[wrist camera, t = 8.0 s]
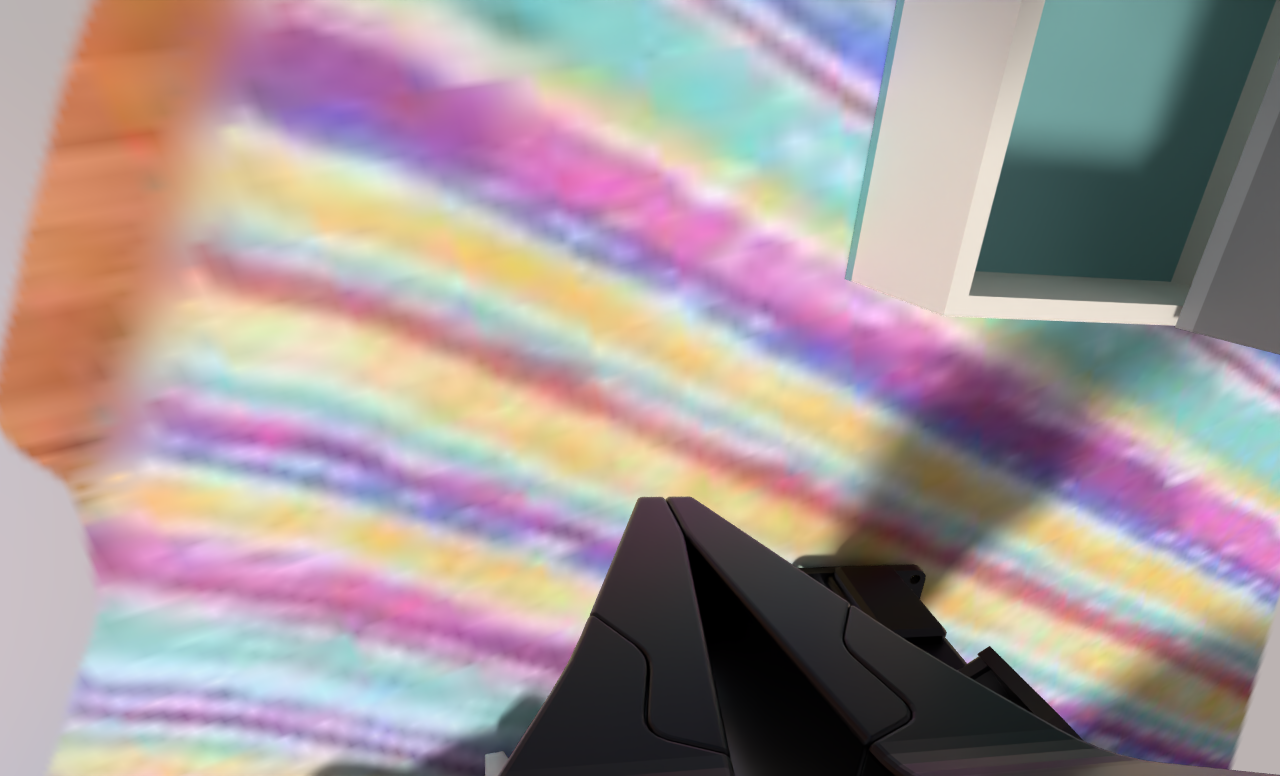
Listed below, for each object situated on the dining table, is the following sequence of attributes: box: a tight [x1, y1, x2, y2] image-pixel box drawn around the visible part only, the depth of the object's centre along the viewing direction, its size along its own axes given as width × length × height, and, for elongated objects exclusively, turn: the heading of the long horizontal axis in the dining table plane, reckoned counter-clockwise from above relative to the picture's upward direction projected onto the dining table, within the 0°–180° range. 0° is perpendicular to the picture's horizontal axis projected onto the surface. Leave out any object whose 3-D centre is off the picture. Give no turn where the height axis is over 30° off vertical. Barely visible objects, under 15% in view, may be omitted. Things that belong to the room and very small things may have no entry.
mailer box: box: [845, 0, 1280, 326], centre depth 18 cm, size 12×14×6 cm
